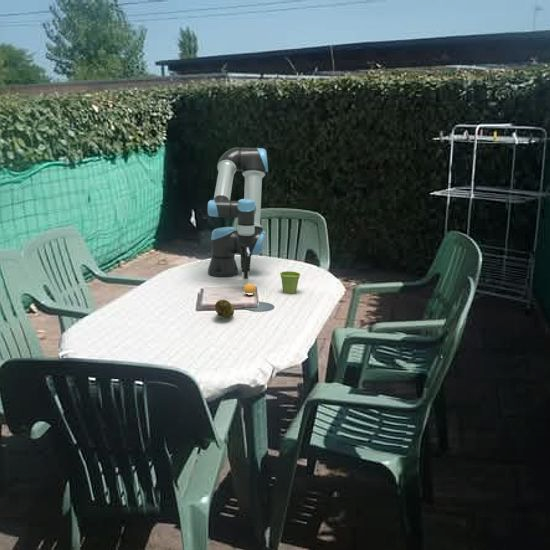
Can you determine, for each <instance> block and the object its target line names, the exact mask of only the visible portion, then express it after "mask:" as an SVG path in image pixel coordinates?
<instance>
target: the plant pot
mask: <svg viewBox="0 0 550 550" xmlns="http://www.w3.org/2000/svg"><path fill="white" fill-rule="evenodd" d="M279 275H280V279H281V285H282V293H284V294H289V295H292V294H297V288H298V283H299V279H300V278H301V273H300V272H297V271H291V270H290V271H289V270H288V271H281V272H280V273H279Z"/></svg>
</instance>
